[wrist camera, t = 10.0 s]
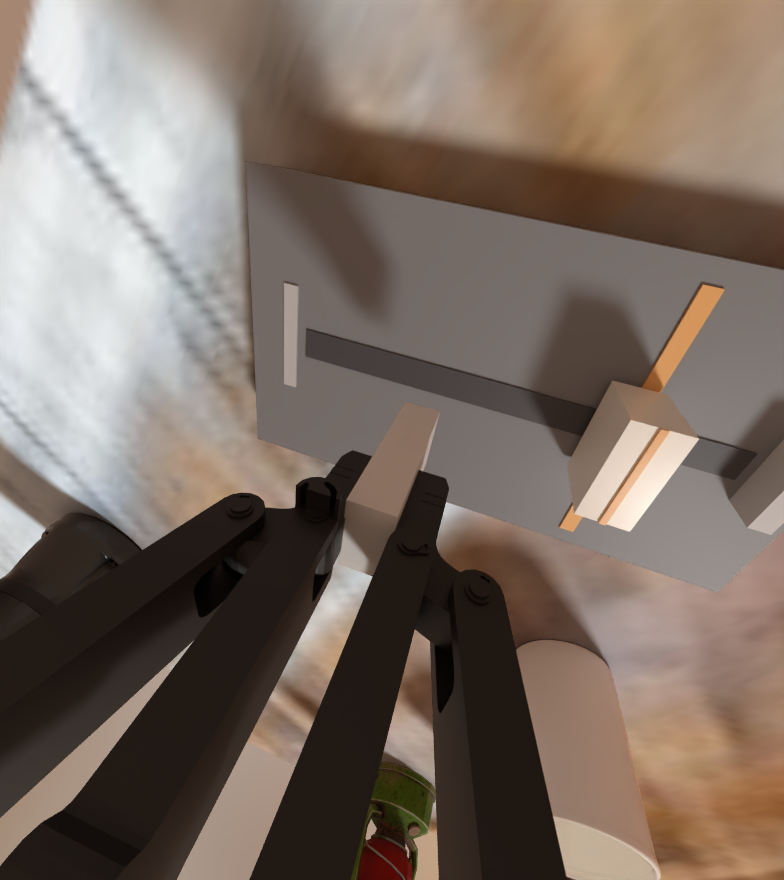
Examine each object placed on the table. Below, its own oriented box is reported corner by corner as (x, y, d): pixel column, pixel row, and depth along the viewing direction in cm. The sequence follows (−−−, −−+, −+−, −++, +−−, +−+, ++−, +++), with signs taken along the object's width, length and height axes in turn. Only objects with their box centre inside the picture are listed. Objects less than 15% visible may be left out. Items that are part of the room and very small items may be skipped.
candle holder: (538, 616, 32) (541, 799, 22) (649, 672, 31) (703, 885, 21) (484, 664, 37) (467, 826, 28) (577, 712, 37) (594, 895, 27)
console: (280, 419, 29) (240, 453, 25) (279, 166, 20) (217, 156, 16) (698, 553, 24) (731, 623, 20) (938, 299, 16) (1083, 332, 11)
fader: (567, 464, 20) (574, 515, 17) (612, 380, 18) (631, 421, 14) (613, 478, 20) (630, 533, 17) (667, 394, 17) (700, 440, 14)
